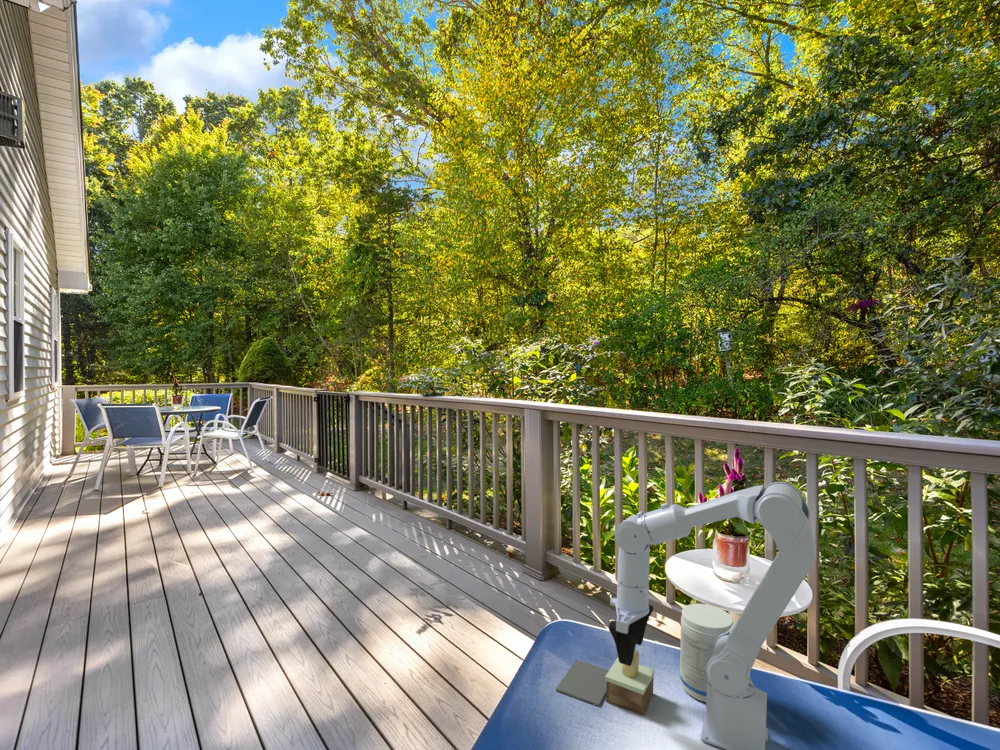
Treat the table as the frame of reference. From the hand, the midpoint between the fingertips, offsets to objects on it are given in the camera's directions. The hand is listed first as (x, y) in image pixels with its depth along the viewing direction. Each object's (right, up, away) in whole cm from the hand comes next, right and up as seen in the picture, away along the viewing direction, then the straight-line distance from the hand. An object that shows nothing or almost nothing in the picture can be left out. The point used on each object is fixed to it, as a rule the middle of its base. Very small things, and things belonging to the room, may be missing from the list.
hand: (630, 653), depth 93 cm
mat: (-8, -8, +4) cm, 12 cm away
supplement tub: (+15, -9, +3) cm, 18 cm away
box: (0, -9, 0) cm, 9 cm away
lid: (0, -6, 0) cm, 6 cm away
